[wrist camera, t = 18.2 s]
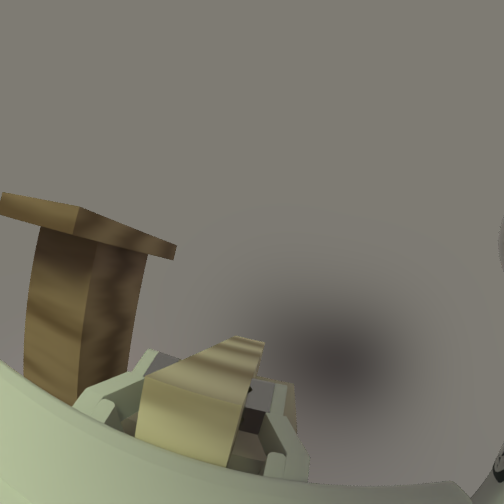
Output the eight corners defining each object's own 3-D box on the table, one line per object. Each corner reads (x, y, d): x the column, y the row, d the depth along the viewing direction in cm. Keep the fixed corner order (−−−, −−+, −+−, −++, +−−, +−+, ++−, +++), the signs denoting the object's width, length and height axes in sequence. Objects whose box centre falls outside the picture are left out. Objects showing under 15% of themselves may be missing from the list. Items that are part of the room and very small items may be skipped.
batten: (220, 485, 7) (242, 405, 8) (132, 454, 8) (144, 375, 8) (257, 370, 29) (264, 342, 29) (228, 363, 29) (235, 335, 30)
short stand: (80, 542, 11) (93, 209, 14) (-3, 481, 13) (-4, 190, 15) (148, 464, 27) (186, 247, 29) (79, 431, 28) (104, 229, 31)
